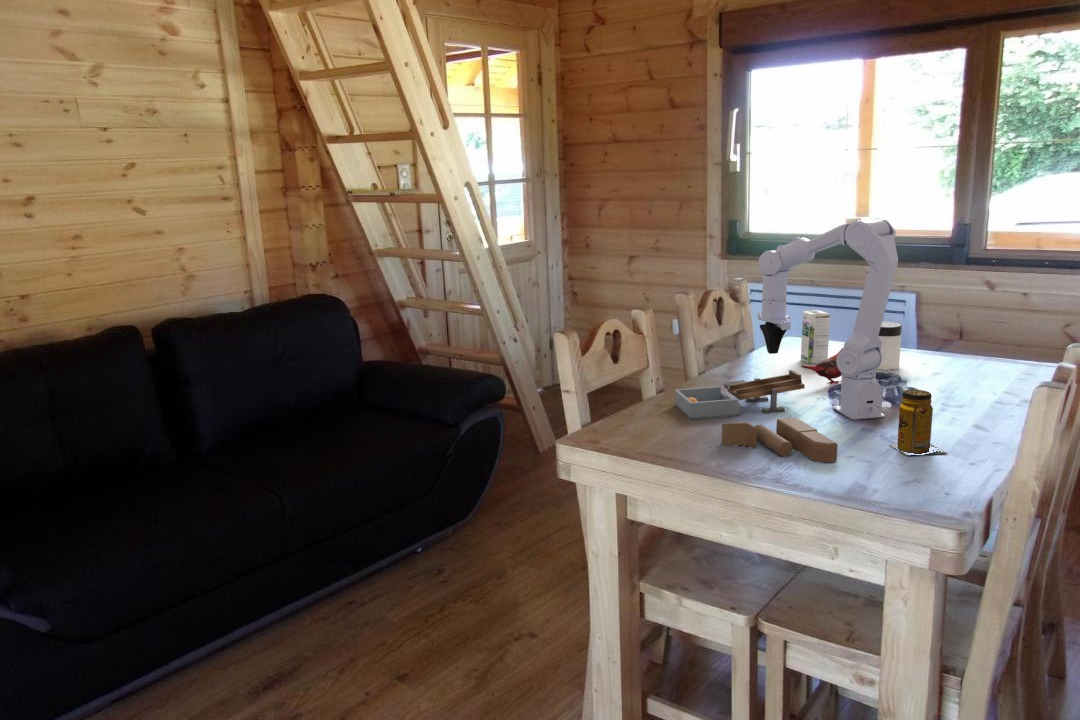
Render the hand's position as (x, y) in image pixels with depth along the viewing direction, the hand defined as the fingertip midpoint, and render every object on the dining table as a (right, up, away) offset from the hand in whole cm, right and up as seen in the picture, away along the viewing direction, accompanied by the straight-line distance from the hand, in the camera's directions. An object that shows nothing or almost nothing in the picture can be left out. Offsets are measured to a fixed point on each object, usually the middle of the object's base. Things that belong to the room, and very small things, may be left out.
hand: (772, 353), depth 209 cm
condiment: (+18, -20, -40) cm, 49 cm away
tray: (-18, -14, -10) cm, 25 cm away
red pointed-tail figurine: (+16, -8, +8) cm, 20 cm away
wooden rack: (-4, -8, -7) cm, 12 cm away
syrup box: (+21, -2, +33) cm, 39 cm away
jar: (+37, -4, +24) cm, 45 cm away
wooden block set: (-10, -21, -39) cm, 45 cm away
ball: (-22, -12, -11) cm, 28 cm away
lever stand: (-4, -13, -8) cm, 16 cm away
